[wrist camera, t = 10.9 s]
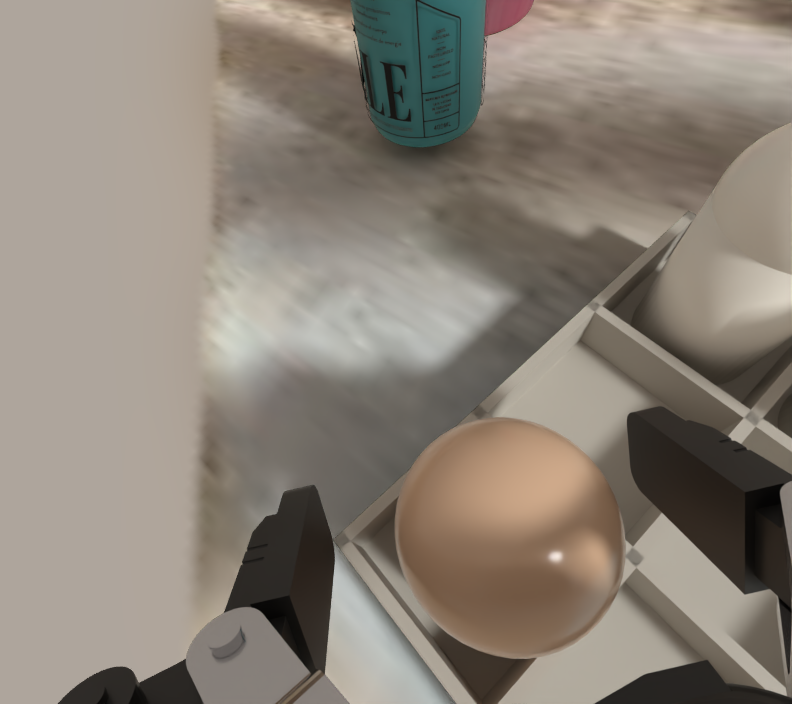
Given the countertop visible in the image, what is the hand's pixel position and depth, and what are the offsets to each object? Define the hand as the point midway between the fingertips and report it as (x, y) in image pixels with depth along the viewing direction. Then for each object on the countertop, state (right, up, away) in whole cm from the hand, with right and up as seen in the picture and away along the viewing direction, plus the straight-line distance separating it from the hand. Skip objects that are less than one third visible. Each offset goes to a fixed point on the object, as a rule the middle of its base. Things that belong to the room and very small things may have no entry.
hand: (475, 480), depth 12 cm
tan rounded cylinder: (+1, -4, +4) cm, 6 cm away
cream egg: (+10, +4, +7) cm, 13 cm away
